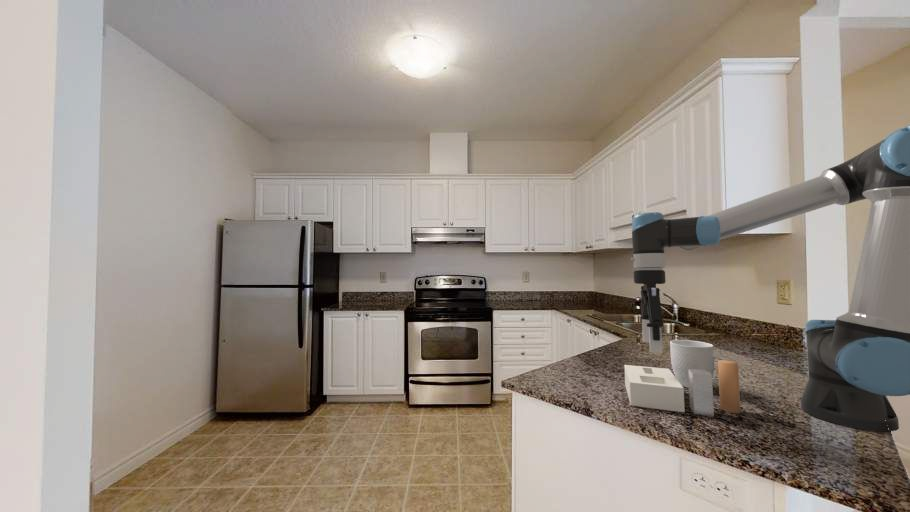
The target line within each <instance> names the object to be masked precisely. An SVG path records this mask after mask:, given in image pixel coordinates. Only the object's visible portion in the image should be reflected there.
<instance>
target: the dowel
mask: <svg viewBox="0 0 910 512" xmlns="http://www.w3.org/2000/svg"><path fill="white" fill-rule="evenodd" d="M717 371H718V374H717V375H718V380H719V383H718V389H719V390H718V393H719V409H720V410H721V409H722V410H721V411H723V410H724V411H723V412H726V413H730V414H740V413H741V399H740V398H741V397H740V396H741V395H740V394H741V393H740V375H739V363H738V362H736V361H732V360H727V359H726V360H720V359H717Z"/></svg>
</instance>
